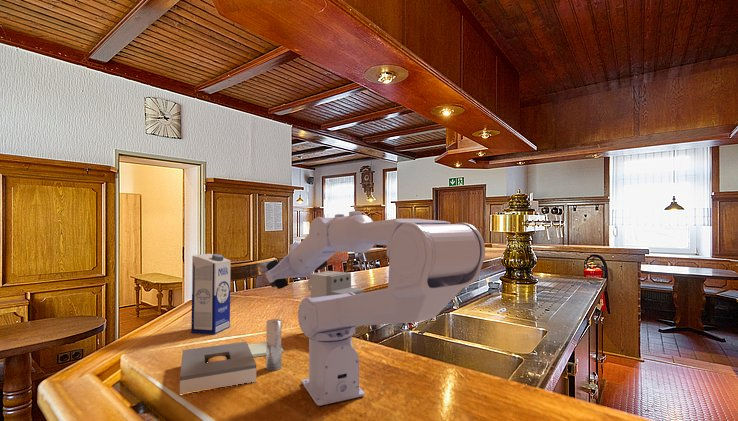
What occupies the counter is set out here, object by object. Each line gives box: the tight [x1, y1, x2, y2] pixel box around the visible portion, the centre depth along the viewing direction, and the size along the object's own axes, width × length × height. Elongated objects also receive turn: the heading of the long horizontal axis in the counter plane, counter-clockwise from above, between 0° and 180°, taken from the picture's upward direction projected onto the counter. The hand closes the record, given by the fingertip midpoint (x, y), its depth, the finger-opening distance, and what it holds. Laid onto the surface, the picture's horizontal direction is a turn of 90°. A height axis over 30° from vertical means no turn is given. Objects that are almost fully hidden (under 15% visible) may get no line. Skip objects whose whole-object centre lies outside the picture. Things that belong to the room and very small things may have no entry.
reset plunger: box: [208, 356, 227, 362], centre depth 68 cm, size 3×3×1 cm
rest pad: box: [248, 341, 284, 358], centre depth 80 cm, size 7×7×1 cm
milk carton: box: [190, 253, 232, 335], centre depth 96 cm, size 7×7×20 cm
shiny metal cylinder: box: [265, 318, 282, 372], centre depth 71 cm, size 3×3×9 cm
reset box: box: [179, 341, 257, 395], centre depth 68 cm, size 14×12×3 cm
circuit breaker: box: [307, 270, 365, 298], centre depth 92 cm, size 8×14×15 cm, turn 53°
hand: (286, 275), depth 79 cm, fingers open, 7 cm apart
